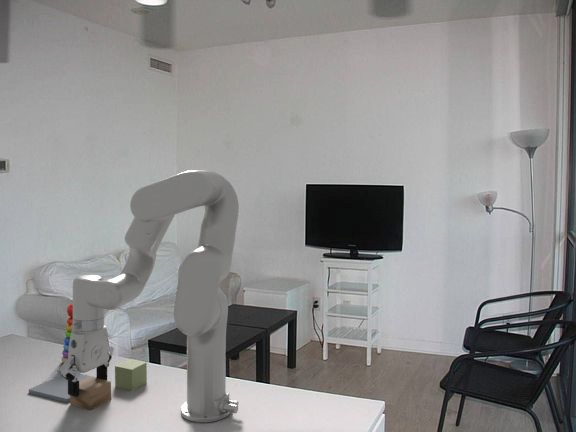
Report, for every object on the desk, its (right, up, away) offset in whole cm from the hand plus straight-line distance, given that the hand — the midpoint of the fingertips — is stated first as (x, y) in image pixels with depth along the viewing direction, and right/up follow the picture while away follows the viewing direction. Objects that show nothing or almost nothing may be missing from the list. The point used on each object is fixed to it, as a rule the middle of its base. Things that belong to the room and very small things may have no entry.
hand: (88, 388), depth 134 cm
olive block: (+8, -3, +11) cm, 14 cm away
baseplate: (-9, -3, +9) cm, 13 cm away
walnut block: (+1, -4, 0) cm, 4 cm away
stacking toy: (-15, -1, +29) cm, 33 cm away
